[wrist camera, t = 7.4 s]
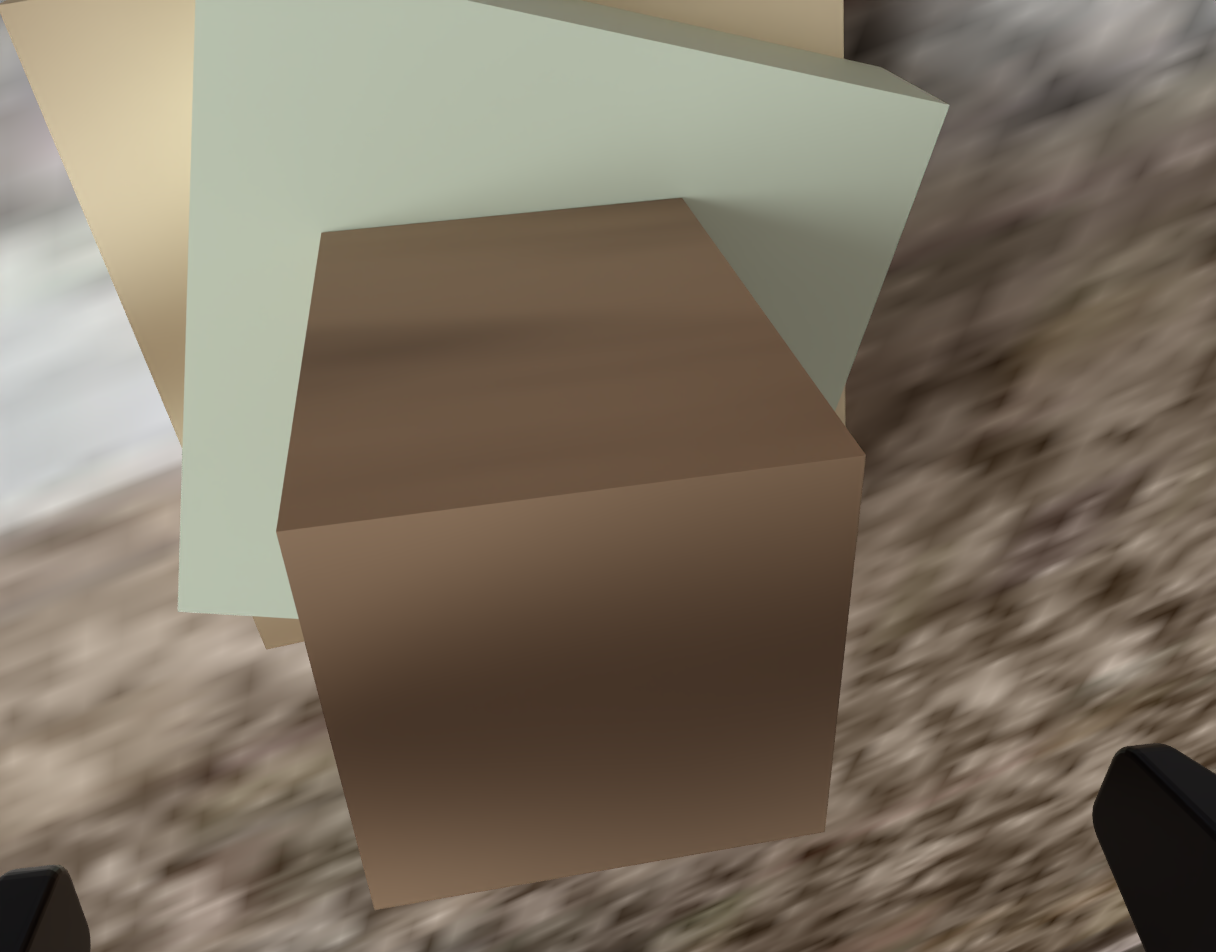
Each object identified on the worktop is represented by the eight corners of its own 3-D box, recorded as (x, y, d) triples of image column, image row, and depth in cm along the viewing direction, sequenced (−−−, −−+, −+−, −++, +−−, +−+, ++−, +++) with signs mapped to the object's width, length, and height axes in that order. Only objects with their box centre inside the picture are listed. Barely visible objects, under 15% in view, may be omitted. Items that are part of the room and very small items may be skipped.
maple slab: (806, 462, 24) (846, 525, 22) (277, 572, 23) (266, 649, 21) (788, -144, 17) (842, -135, 15) (45, -22, 17) (-4, 5, 15)
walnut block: (682, 491, 18) (824, 831, 12) (379, 530, 17) (374, 910, 11) (681, 197, 15) (866, 455, 9) (321, 232, 14) (275, 531, 9)
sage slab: (713, 565, 22) (746, 646, 20) (200, 524, 19) (177, 611, 17) (881, 67, 17) (949, 105, 15) (224, -80, 14) (197, -58, 12)
